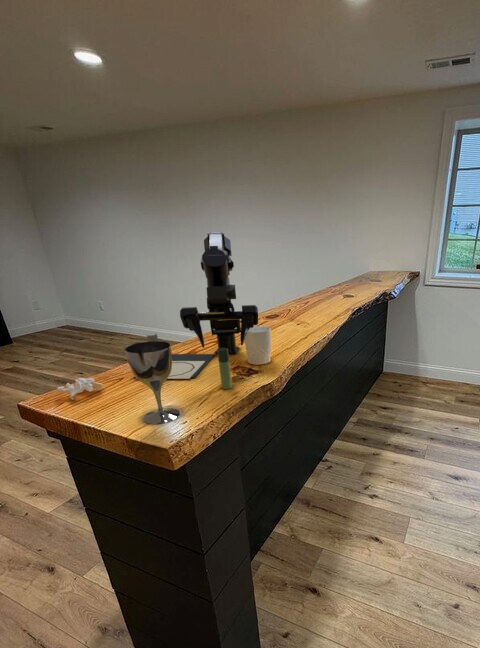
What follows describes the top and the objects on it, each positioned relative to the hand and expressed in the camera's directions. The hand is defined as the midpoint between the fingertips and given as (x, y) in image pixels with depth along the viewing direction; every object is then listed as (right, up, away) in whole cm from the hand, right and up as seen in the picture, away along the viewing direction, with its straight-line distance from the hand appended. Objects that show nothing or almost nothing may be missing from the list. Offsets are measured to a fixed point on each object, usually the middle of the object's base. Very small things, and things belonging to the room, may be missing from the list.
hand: (222, 345), depth 86 cm
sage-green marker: (+1, -10, +1) cm, 10 cm away
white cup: (+5, -3, +20) cm, 21 cm away
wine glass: (-9, -16, -13) cm, 23 cm away
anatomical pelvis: (-32, -12, -3) cm, 35 cm away
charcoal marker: (-22, -5, +12) cm, 25 cm away
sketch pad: (-18, -4, +16) cm, 24 cm away
